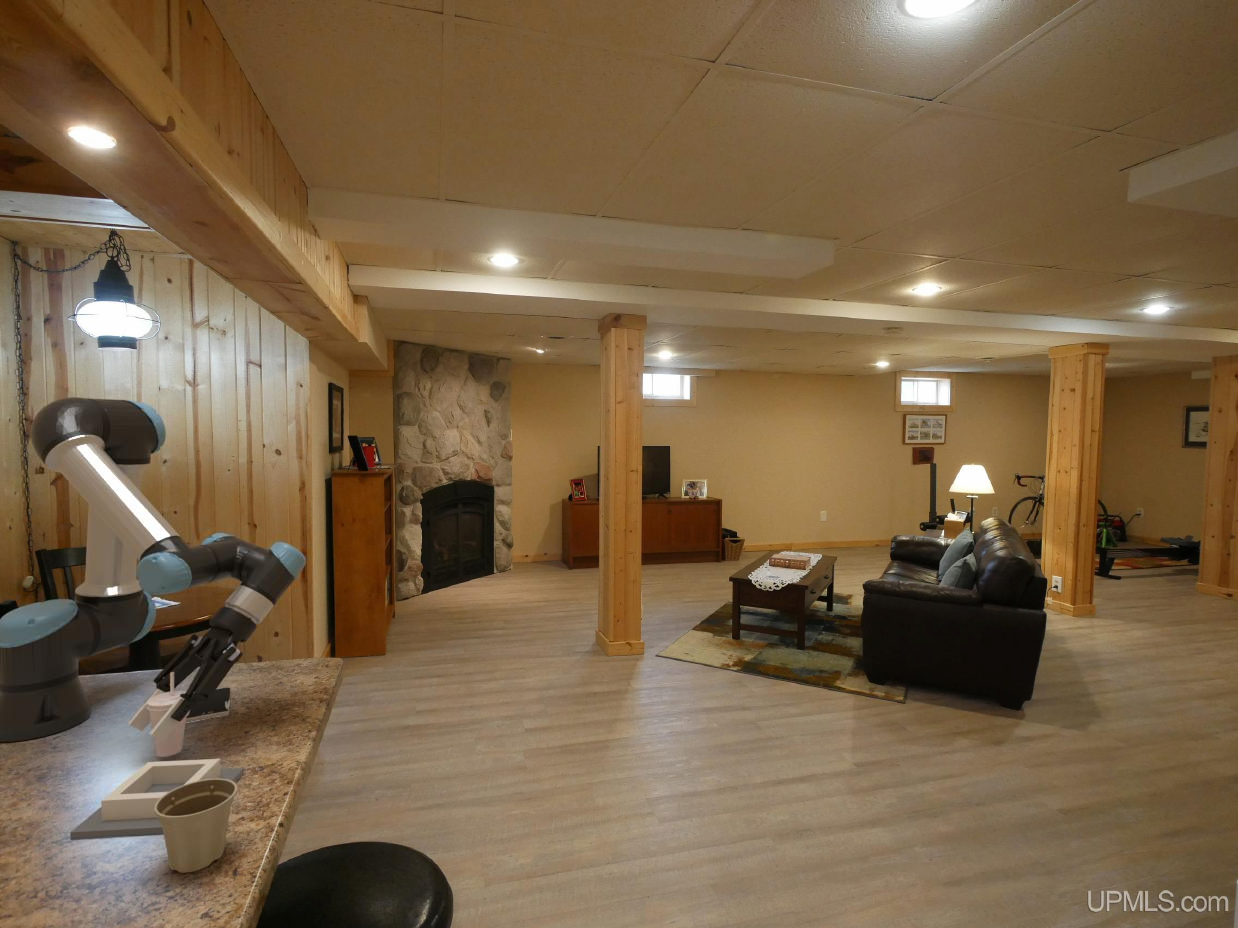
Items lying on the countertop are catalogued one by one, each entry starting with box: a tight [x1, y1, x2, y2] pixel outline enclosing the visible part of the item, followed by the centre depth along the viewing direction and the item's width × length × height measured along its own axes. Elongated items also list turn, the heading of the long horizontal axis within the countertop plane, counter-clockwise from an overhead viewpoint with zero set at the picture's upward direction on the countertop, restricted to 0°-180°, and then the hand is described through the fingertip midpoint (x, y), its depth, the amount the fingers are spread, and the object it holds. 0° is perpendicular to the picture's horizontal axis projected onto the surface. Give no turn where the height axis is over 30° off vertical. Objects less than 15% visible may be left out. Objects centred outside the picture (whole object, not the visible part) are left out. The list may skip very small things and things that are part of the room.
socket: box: [69, 758, 245, 840], centre depth 98 cm, size 16×16×4 cm
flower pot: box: [154, 778, 238, 874], centre depth 86 cm, size 9×9×9 cm
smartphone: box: [186, 687, 231, 722], centre depth 134 cm, size 8×1×15 cm
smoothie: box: [146, 672, 187, 758], centre depth 111 cm, size 6×6×14 cm
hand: (146, 732), depth 108 cm, fingers closed on smoothie, 6 cm apart
